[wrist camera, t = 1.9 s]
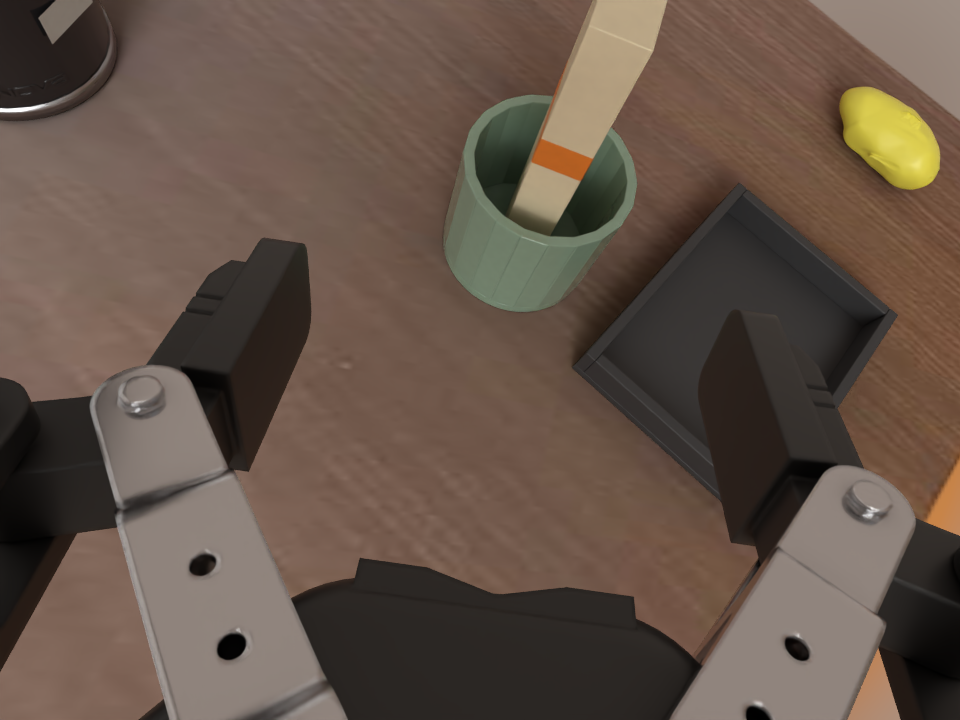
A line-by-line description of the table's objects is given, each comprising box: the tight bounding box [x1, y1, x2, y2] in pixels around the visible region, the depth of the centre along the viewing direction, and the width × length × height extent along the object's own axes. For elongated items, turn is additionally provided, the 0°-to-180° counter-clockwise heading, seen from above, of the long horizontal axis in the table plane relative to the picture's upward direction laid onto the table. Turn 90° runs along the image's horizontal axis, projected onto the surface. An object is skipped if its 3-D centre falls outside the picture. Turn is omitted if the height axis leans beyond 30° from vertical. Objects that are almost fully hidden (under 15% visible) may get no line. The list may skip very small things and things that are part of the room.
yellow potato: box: [839, 87, 940, 189], centre depth 42 cm, size 4×8×4 cm, turn 34°
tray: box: [572, 183, 898, 502], centre depth 36 cm, size 12×15×2 cm
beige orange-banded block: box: [505, 0, 667, 236], centre depth 29 cm, size 4×2×16 cm, turn 162°
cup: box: [443, 95, 637, 312], centre depth 33 cm, size 8×8×7 cm
